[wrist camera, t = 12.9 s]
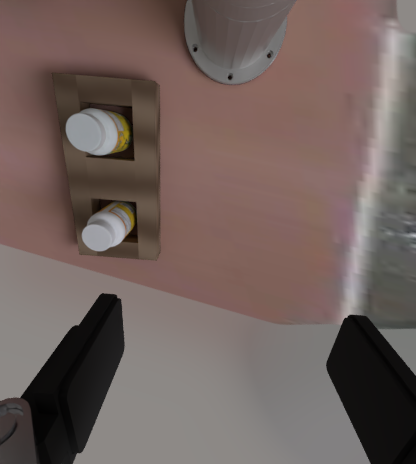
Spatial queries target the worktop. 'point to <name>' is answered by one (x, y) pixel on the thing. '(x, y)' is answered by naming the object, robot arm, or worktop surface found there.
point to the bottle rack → (115, 160)
